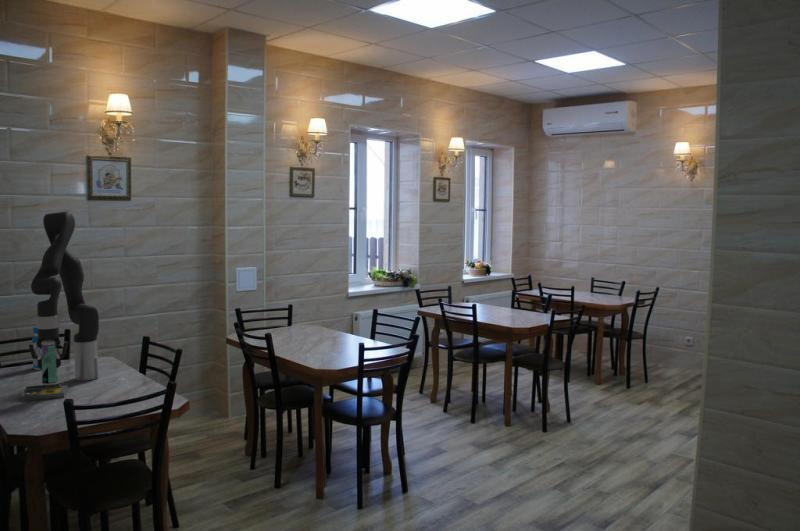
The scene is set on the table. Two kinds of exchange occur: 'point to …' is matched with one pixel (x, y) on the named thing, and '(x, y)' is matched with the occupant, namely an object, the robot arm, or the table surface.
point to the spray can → (49, 363)
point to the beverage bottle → (37, 349)
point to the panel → (43, 392)
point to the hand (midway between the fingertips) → (49, 367)
